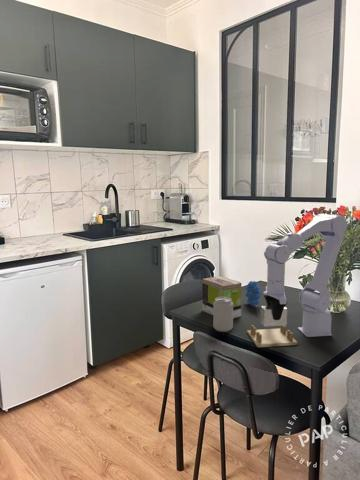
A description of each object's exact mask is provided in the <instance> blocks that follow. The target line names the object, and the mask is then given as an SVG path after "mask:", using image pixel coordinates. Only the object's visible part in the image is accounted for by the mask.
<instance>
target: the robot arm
mask: <svg viewBox="0 0 360 480" xmlns="http://www.w3.org/2000/svg"><path fill="white" fill-rule="evenodd" d="M347 229H348V222H347V219H346V218H345V217H344V216H343V215H341V214H338V215H335V214H327V213H326V214H324V213H318V214H317V215H315V216H314V217H313V218H312V220H311V221H310V222H309V223H308V224H306V225H305V226H304V227H302V229H300V230H299V231H298V232H288V233H287V235H286V236H284V237H283V238H282V239H280V240H277V241H276V243H270V244H269V245H268V246H267V247H266V248H265V250H264V252H263V256H264V259H266V264H267V273H266V274H267V277H266V279H267V282H266V286H265V287H264V288H265V291H263V294H264V295H263V298H264V299H265V302H266V306H272V311H273V319H274V320H280V318H281V315H282V312H283V309H284V307H286V306H287V304H288V301H287V297H286V293H285V279H286V277H285V274H286V272H285V271H286V262H288V261H289V258H290V256H292V254H293V253H294V252H296V251H297V250H298V249H300V248H302V247H303V244H304V241H306V240H307V239H309V238H311V237H312V236H314V235H316V234H318V233H319V235H320V236H321V237H322V238H323V239H324V241H325V242H324V245H323V247H322V250H321V253H320V255H319V259H318V262H317V265H316V268H315V271H314V273H313V276H312V279H311V281H310V282H308V283H306V284H305V285H304V287H303V289H302V290H301V292H300V293H299V296H298V302H299V303H300V304H301V308H303V310H302V326H298V327H297V329H298V330H299V331H300V332H301V333H302V334H303V335H304V336H305V337H307V338H311V337H312V338H314V337H329V336H332V335H333V334H332V313H331V311H330V310H329V307H330V304H331V303H330V302H331V299H330V298H331V296H332V293H331V291H330V290H329V288H328V287H327V286H328V284H329V281H330V278H331V275H332V273H333V269H334V267H335V263H336V262H337V258H338V255H339V253H340V249H341V247H342V244H343V240H344V237H345V233H346V231H347Z"/></svg>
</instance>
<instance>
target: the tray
mask: <svg viewBox="0 0 360 480" xmlns="http://www.w3.org/2000/svg"><path fill="white" fill-rule="evenodd" d="M291 331H292V330H290V329H287V325H283V326H279V328H264V329H257V327H255V325H253V324H250V329H249V330H248V329H247V332H246V333H247V335H248V336H249V337H250V339H251V340H252V342H253V343H254V344H255V346H256V347H257V348H268V347H282V346H283V347H284V346H297V345H298V341H297V340H296V339H295V338H294V333H293V332H291Z"/></svg>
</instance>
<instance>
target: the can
mask: <svg viewBox="0 0 360 480" xmlns="http://www.w3.org/2000/svg"><path fill="white" fill-rule="evenodd" d="M212 316H213V318H212V319H213V321H212V323H213V324H212V325H213V326H212V327H213V328H214V330H215V331H216V332H220V333H227V332H230V331H231V330H233V327H234V318H233V302H232V301H231V298H228V297H217V298H215V301H214V302H213V315H212Z"/></svg>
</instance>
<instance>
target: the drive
mask: <svg viewBox="0 0 360 480" xmlns="http://www.w3.org/2000/svg"><path fill="white" fill-rule="evenodd" d="M260 323H261V325H262V326H263V327H265V328H266V327H277V326H279V327H280V326H283V325H284V326H287V325H288V308H287V307H286V306H285V307H284V309H283V312H282V315H281V318H280V320H274V319H273V311H272V306H267V305H261V306H260Z"/></svg>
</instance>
